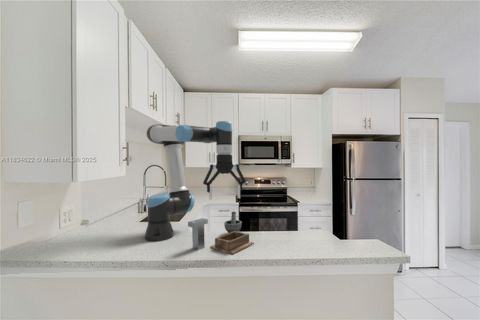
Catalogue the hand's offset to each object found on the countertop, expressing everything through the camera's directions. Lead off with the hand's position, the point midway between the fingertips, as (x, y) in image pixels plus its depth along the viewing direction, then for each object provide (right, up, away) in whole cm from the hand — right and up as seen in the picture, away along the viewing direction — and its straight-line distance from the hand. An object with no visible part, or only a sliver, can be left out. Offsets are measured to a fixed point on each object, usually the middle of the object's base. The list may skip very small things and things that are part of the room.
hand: (224, 198), depth 115 cm
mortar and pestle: (+4, -24, +21) cm, 32 cm away
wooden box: (+4, -23, +2) cm, 24 cm away
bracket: (-13, -24, +1) cm, 27 cm away
